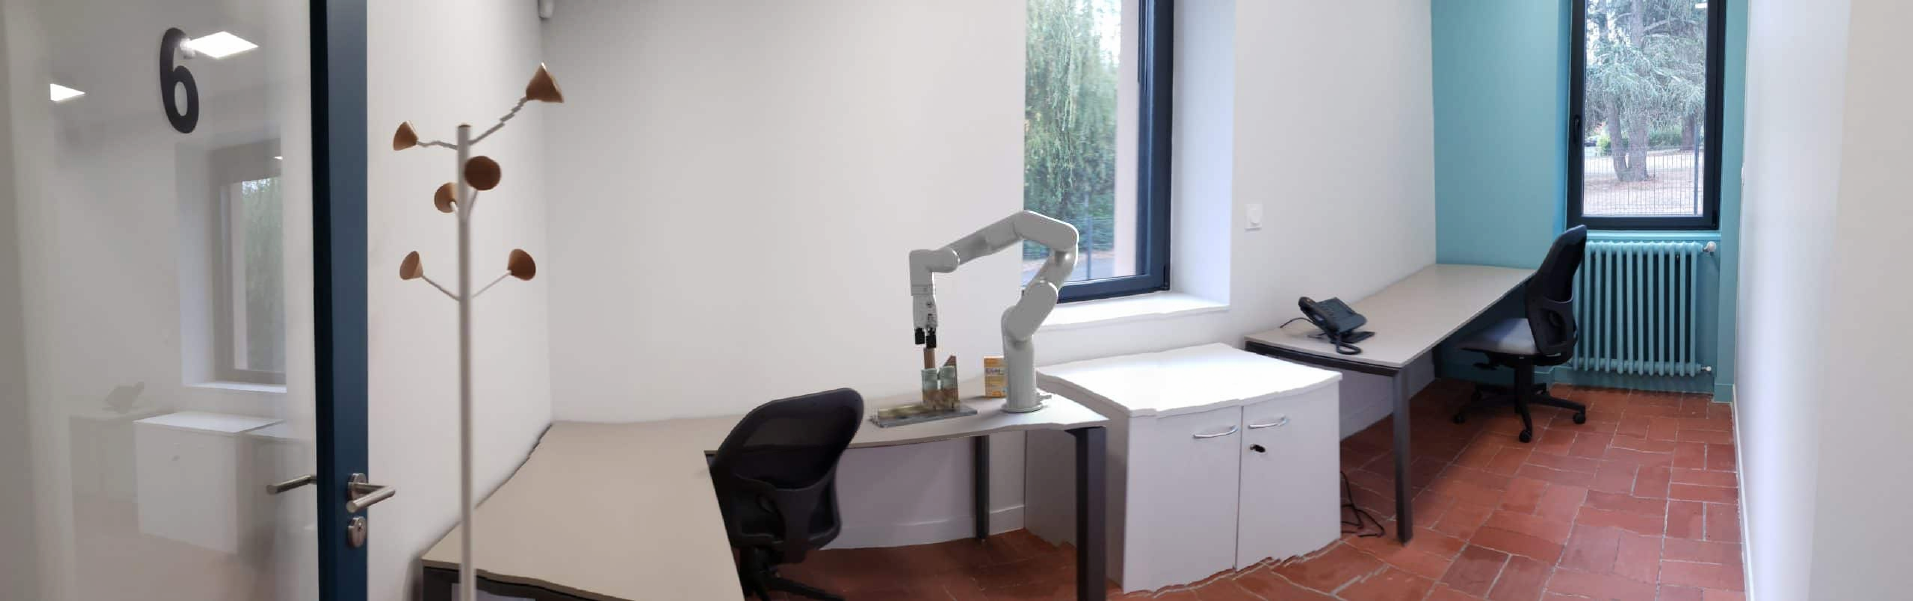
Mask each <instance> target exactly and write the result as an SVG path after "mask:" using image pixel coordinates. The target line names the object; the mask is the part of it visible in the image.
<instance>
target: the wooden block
mask: <svg viewBox="0 0 1913 601" xmlns="http://www.w3.org/2000/svg"><path fill="white" fill-rule="evenodd" d="M922 350H923V351H922V352H923V363H924V364H923V365H924V366H923V367H924V369H930V368H934V369H936V357H935V355H936V354H935V348H932V349H927V348H926V346H924V347H923V349H922ZM945 366H954V367H955V376H956V386H955V387H957V398H958V399H960V398H959V384H958V381H959V380H958V366H957V356H955V355H952V354H951V355H950V356H949V357H948V359H947V360H946V361H945V362H944V364H943V365H942V367H945ZM937 381H940V370H939V371H938V372H937ZM938 390H939V401H942V400H941V390H940V388H938Z"/></svg>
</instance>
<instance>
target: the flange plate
mask: <svg viewBox="0 0 1913 601" xmlns="http://www.w3.org/2000/svg"><path fill="white" fill-rule="evenodd" d="M970 414H971V415H977V414H978V409H975V408H974V407H971V406H968V405H967V404H964V403H963V402H960V406H959V407H954V409H952V408H945V409H938V410H936V411H933V410H931V411H924V412H918V413H911V414H904V415H897V416H890V417H884V418H880V417H878V414H872V415H868V418H869V417H870V418H871V419H872V420H874V421H876V422H877V423H879V424H880V425H881V426H891V427H898V426H903V425H904V424H905V425H910V424H917V423H918V424H919V423H923V422H929V421H930V422H931V421H937V420H943V419H949V418H950V419H951V418H957V417H964V416H970ZM872 420H871V421H872ZM877 423H876V424H877ZM880 425H879V426H880ZM881 426H880V427H881Z"/></svg>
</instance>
